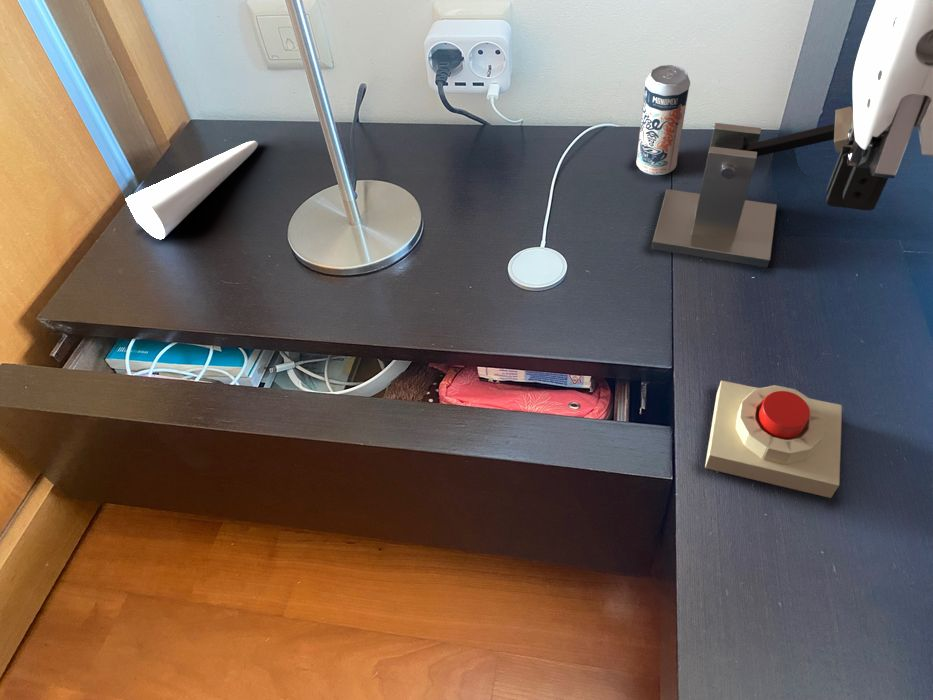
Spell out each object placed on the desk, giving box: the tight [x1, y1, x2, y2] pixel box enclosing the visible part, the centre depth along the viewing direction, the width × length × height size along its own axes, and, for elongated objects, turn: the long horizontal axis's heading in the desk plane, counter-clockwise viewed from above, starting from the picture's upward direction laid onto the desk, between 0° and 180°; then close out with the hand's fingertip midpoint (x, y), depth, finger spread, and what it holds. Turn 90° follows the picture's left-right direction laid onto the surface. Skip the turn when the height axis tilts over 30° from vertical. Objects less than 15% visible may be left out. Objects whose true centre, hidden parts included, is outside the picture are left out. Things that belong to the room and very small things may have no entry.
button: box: [758, 391, 810, 439], centre depth 59 cm, size 4×4×2 cm
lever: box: [715, 106, 853, 157], centre depth 69 cm, size 12×5×2 cm, turn 71°
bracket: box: [651, 122, 778, 269], centre depth 75 cm, size 12×9×12 cm
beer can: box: [635, 64, 691, 176], centre depth 83 cm, size 5×5×12 cm
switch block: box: [704, 380, 843, 499], centre depth 61 cm, size 10×8×4 cm
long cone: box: [125, 140, 259, 240], centre depth 90 cm, size 6×6×19 cm
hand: (849, 200), depth 52 cm, fingers closed
